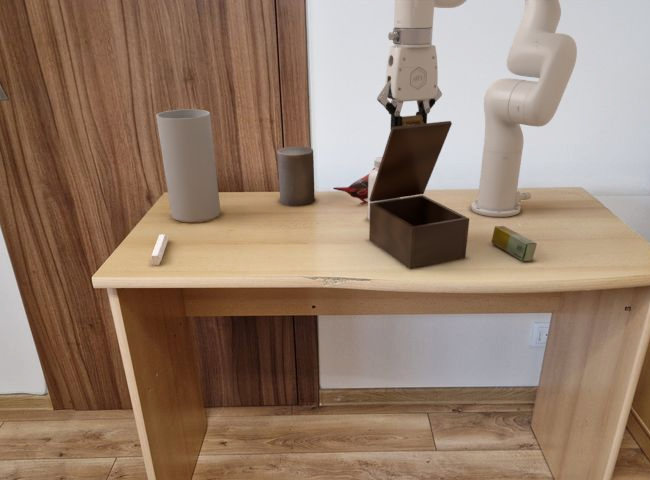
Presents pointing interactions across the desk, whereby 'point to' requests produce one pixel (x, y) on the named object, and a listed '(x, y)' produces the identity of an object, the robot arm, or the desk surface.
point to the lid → (409, 158)
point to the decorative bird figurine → (358, 189)
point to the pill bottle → (371, 182)
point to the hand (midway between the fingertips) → (408, 133)
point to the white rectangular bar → (159, 249)
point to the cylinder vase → (189, 164)
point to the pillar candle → (296, 176)
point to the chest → (418, 231)
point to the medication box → (514, 243)
